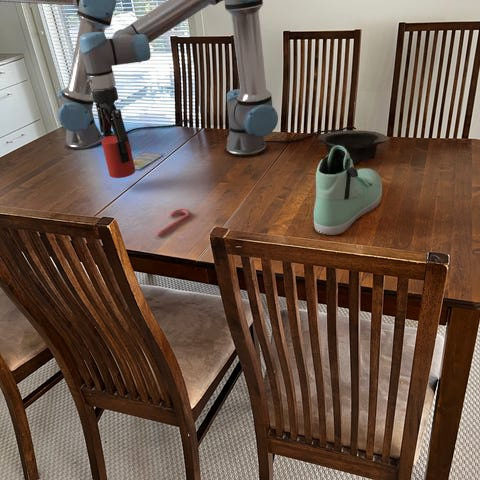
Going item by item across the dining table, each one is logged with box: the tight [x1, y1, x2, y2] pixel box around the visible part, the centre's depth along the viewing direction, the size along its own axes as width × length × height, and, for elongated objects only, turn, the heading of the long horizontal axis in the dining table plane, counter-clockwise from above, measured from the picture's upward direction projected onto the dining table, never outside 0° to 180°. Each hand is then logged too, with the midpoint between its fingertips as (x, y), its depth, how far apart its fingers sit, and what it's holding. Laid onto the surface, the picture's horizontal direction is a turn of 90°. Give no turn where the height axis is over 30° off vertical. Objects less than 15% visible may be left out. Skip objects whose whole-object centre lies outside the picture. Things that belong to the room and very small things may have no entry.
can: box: [101, 135, 137, 179], centre depth 156 cm, size 9×9×12 cm
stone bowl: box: [316, 129, 390, 165], centre depth 170 cm, size 25×25×9 cm
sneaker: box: [313, 146, 383, 236], centre depth 133 cm, size 14×35×20 cm, turn 152°
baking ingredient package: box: [133, 152, 162, 170], centre depth 182 cm, size 9×1×15 cm
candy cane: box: [156, 208, 192, 238], centre depth 138 cm, size 6×15×2 cm, turn 145°
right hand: (119, 158), depth 157 cm, fingers closed on can, 9 cm apart
